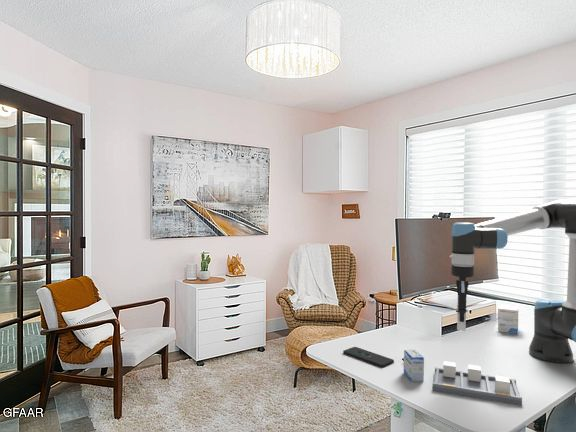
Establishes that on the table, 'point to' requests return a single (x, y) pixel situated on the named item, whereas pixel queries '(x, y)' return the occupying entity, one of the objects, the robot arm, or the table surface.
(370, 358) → the smart home device
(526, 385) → the table surface
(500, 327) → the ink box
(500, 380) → the white cube
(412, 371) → the medicine box
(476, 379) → the white cube
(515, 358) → the table surface
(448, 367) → the white cube
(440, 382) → the gray divided tray
